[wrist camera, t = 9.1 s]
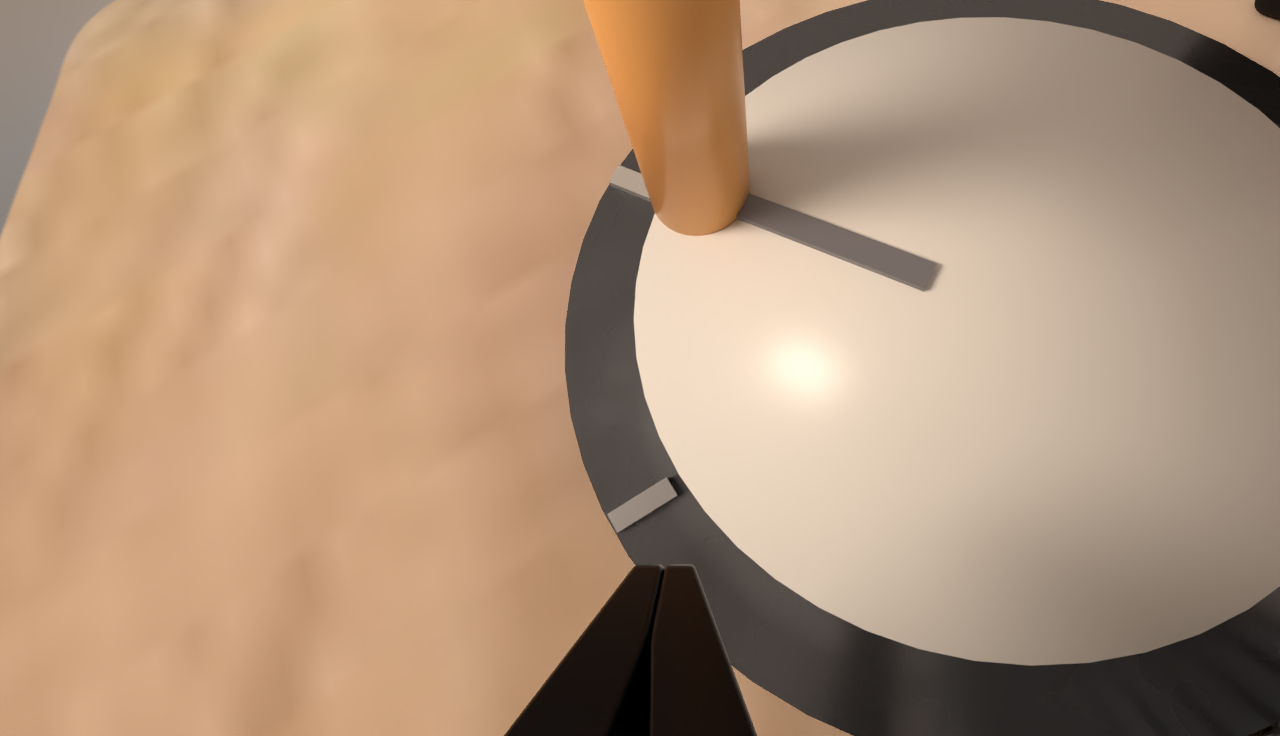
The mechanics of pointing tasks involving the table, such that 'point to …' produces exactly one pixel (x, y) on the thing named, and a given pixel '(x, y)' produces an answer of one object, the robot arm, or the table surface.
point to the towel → (1273, 730)
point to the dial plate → (799, 630)
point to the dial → (964, 324)
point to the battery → (1268, 7)
